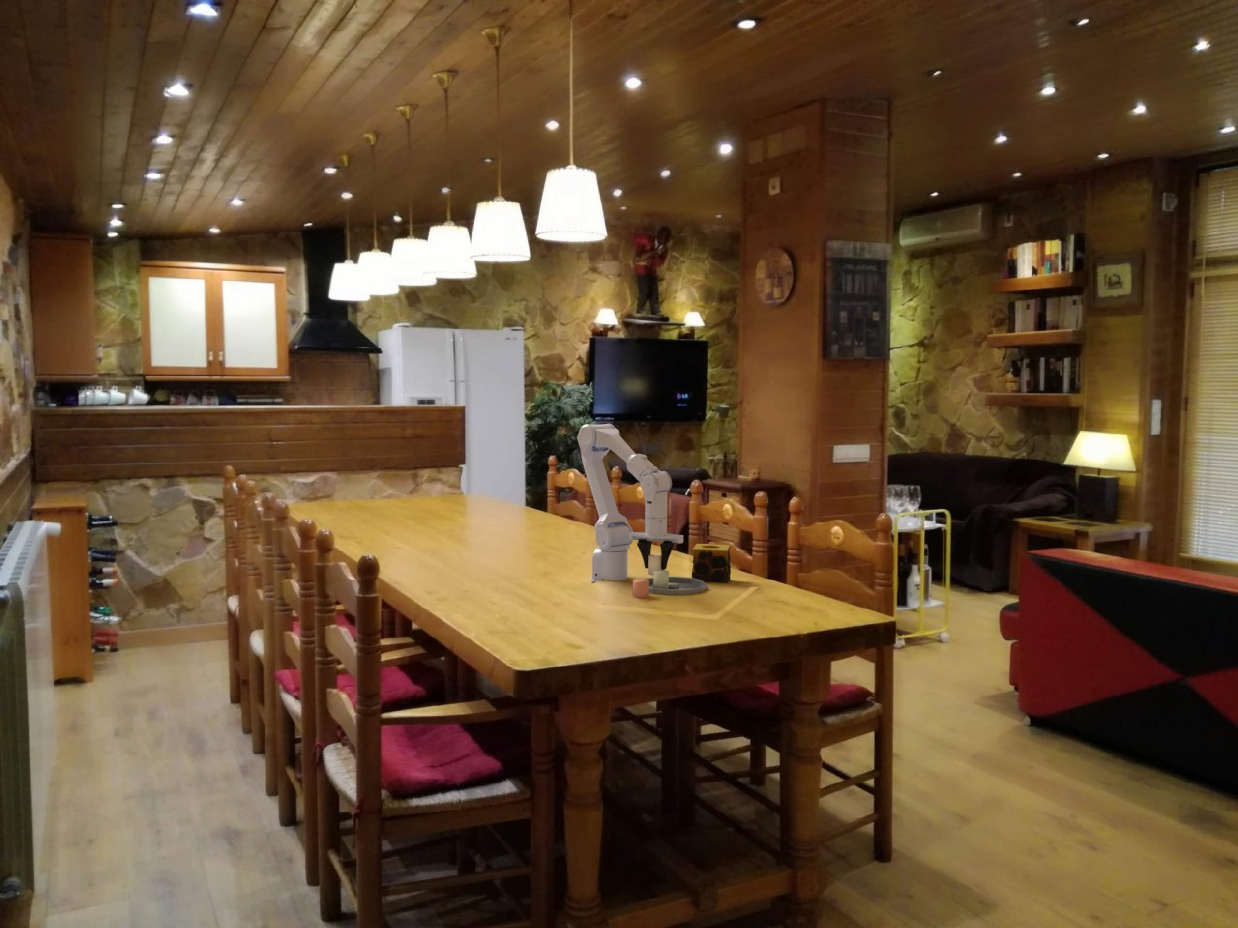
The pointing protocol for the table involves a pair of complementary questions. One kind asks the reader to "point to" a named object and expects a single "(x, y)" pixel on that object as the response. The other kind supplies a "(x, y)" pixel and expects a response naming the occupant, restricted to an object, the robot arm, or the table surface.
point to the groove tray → (679, 586)
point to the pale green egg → (661, 579)
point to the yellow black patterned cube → (711, 563)
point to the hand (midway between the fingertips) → (655, 568)
